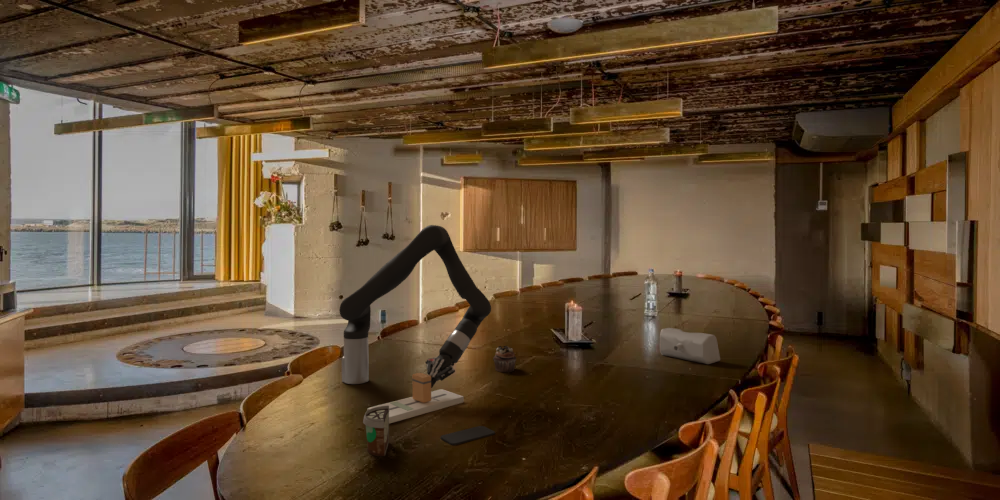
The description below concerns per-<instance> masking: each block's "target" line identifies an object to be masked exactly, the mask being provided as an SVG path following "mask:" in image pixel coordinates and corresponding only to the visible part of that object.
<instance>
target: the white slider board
mask: <svg viewBox="0 0 1000 500" xmlns="http://www.w3.org/2000/svg"><path fill="white" fill-rule="evenodd" d="M464 398H465V396H463V395H460V394H458V393H455V392H452V391H448V390H445V389H443V388H441V389H437V390H436V389H435V390H434V391H432V390H431V401H428V402H424V403H423V402H420V401H417V400H415V399H413V396H410V397H406V398H401V399H398V400H397V399H396V400H395V401H390V402H386V403H382V404H378V405H374V406H371V407H368V408H366V409H367V410H366V411H368V410H370V409H372V408H375V407H379V406H389V425H390V424H392V423H396V422H400V421H403V420H407V419H410V418H413V417H418V416H420V415H424V414H427V413H430V412H434V411H438V410H441V409H445V408H448V407H452V406H456V405H458V404H462V403H464Z"/></svg>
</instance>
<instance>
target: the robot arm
mask: <svg viewBox="0 0 1000 500" xmlns="http://www.w3.org/2000/svg"><path fill="white" fill-rule="evenodd" d="M433 251H434V252H435V253H436V254H437V255H438V256H439V257H440V260H441V261H442V262H443V264H444V266H445V269H446V272H447V275H448V277H449V280H450V282H451V284H452V286H453V287H454V289H455V291H456V292H457V293H458V296H459V297H460V298H461V299H463V300H466V302H467V303H468V304H469V307H468V308H467V310H466V311H465V313H464V315H463V317H462V319H461V320H460V321H459V322H458V323H457V325H456V326H455V328H454V329H453V331H452V332H450V334H449V335H448V336H447V339H446V340H445V341H444V343H443V344H442V345H441V347H440V349H439V350H438V353H439V355H438V356H436V359H435V360H434V361H431V360H429V361H428V368H427V367H426V375H429V376H431V389H433V387H434V386H435V384H436V383H437V382H438V381H441V382H442V381H444V380H445V379H446V378H448V377H450V376H451V375H453V374H454V373H455V372H456V370H455V369H454V366H455V364H457V363H458V362H459V361H460V360H461V359H460V358H461V357H462V356H463V354H464V353H465V351H466V350H467V348H468V347H469V344H470V343H471V341H472V340H473V338H474V336H475V335H476V333H477V331H478V328H479V326H480V325H481V323H482V322H483V321H484V320H485V318H487V317H488V316H489V315H490V314H491V312H492V305H491V302H490V300H489V298H487V296H486V295H485V294H484V293H483V292H482V291H481V290H480V289H479V288H478V287H477V285H476V283H475V281H474V280H473V279H472V277H471V276H470V274H469V272H468V270H467V268H465V266H464V264H463V261H461V259H460V257H459V255H458V253H457V251H456V249H455V247H454V244H453V241H452V239H451V236H450V235H449V232H448V231H447V229H446V228H445V227H443V226H441V225H436V224H435V225H434V224H429V225H426V226H425V227H424V228H423V229H421V230H420V231H419V233H418V234H416V236H415V237H414V238H413V239H412V240H411V241H410V242H409V244H408V245H406V247H404V248H403V249H401V250H400V251H399V252H398V253H397V254H396V255H394V256H393V257H392V258H390V259H389V261H387V262H386V263H385V264H384V265H383V266H381V268H379V270H377V271H376V273H374V274H373V275H372V276H371V277H370V278H369V279H368V280H367V281H366V282H365V283H364V284H363V285H362V286H361V287H360V288H358V289H357V290H356V291H354V292H353V293H352V294H350V295H348V296H347V297H345V298H344V299H343V300H342V302H341V303H340V304H339V305H340V306H339V315H340V317H341V318H342V319H343V320H344V321H348V322H347V325H346V326H345V328H344V329H343V356H342V357H341V382H342V383H344V384H349V385H359V384H365V383H367V382H369V380H370V379H369V377H370V376H369V373H370V372H369V368H370V367H369V364H370V363H369V331H370V328H371V315H372V314H371V312H372V311H371V310H372V309H371V305H372V304H373V303H374V302H375V301H376V300H378V299H379V298H382V297H384V296H385V295H387V294H388V293H390V292H391V291H393V290H394V289H396V288H397V287H399V286H400V285H401V284H402V283H403V282H404V281H405V280H406V279H407V278H409V276H410V275H411V273H412V272H413V270H414V269H415V267H416V266H417V264H419V262H420V261H421V260H422V259H423V258H425V257H427V255H428V254H430V253H432V252H433Z"/></svg>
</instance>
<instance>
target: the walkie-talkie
mask: <svg viewBox="0 0 1000 500" xmlns="http://www.w3.org/2000/svg"><path fill="white" fill-rule="evenodd" d="M436 357H437V356H436ZM436 357H431V358H427V359H426V361H425V364H426V369H427V368H428V361H429V360H431V361H434V360H435V359H436Z"/></svg>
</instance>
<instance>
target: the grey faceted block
mask: <svg viewBox="0 0 1000 500" xmlns="http://www.w3.org/2000/svg"><path fill="white" fill-rule="evenodd" d="M659 352H660V354H661V355H662V356H665V357H669V358H673V359H679V360H684V361H685V360H686V361H690V362H694V363H699V364H704V365H711V364H714V363H717V362H718V363H719V362H720V361H721V354H720V350H719V346H718V340H717V336H715V334H710V333H705V332H704V333H703V332H687V331H684V330H682V329H679V328H672V327H666V328H662V329H661V330H660V334H659Z"/></svg>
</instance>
